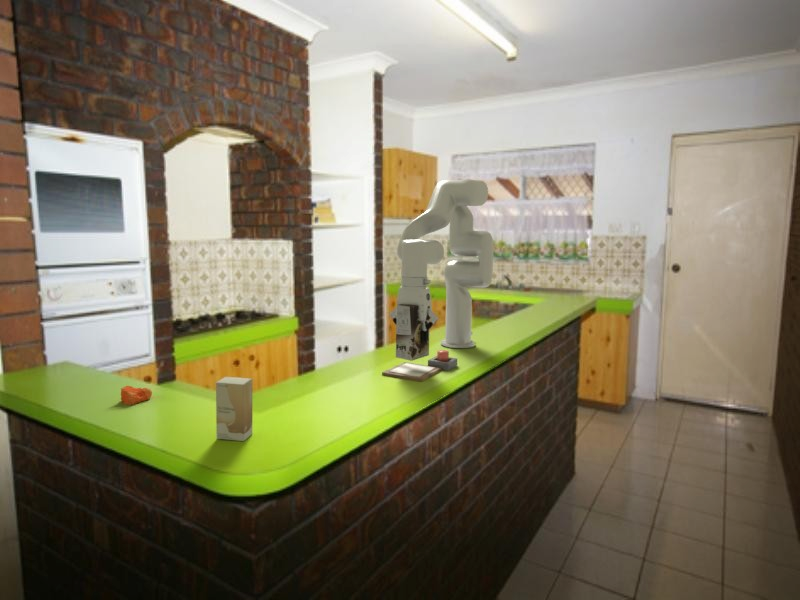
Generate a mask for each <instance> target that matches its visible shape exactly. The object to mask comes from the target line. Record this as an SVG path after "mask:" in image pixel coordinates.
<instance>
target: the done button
mask: <svg viewBox="0 0 800 600" xmlns="http://www.w3.org/2000/svg"><path fill="white" fill-rule="evenodd" d="M449 353H450V352H449V350H442V349H441V350H440V349H439V350H437V353H436V356H437V361H444V362H447V361H449V357H450V356H449V355H450V354H449Z"/></svg>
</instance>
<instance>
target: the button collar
mask: <svg viewBox="0 0 800 600" xmlns="http://www.w3.org/2000/svg"><path fill="white" fill-rule="evenodd" d="M427 366H433V367H440V368H442V370H441V371H447V372H449V371H451V370H452V369H454V368H456V367H458V358H456V357H450V356H449V361H447V362H444V361H437V355H435V356H434V357H432V358H429V359H428V360H427Z"/></svg>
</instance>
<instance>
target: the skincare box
mask: <svg viewBox="0 0 800 600" xmlns="http://www.w3.org/2000/svg"><path fill="white" fill-rule="evenodd" d="M215 402H216V404H215V405H216V406H215V407H216V408H215V412H216V413H215V415H216V416H215V417H216V422H215V423H216V427H215V429H216V439H218V440H228V441H236V442H237V441H239V442H244V441H246V440H247V439H248V438H250V437H251V436H252V435H253V378H247V377H232V376H224V377H223V378H221V379H219V380H217V381H216V382H215Z"/></svg>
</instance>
